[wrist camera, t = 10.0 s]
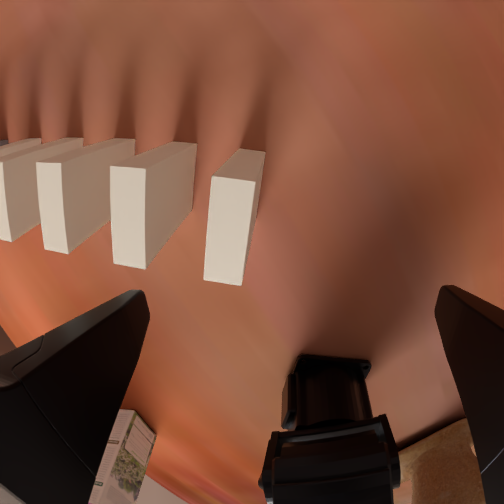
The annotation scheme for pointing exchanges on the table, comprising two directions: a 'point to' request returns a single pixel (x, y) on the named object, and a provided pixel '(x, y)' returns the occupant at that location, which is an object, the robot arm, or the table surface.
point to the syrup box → (123, 461)
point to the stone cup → (443, 468)
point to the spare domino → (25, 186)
